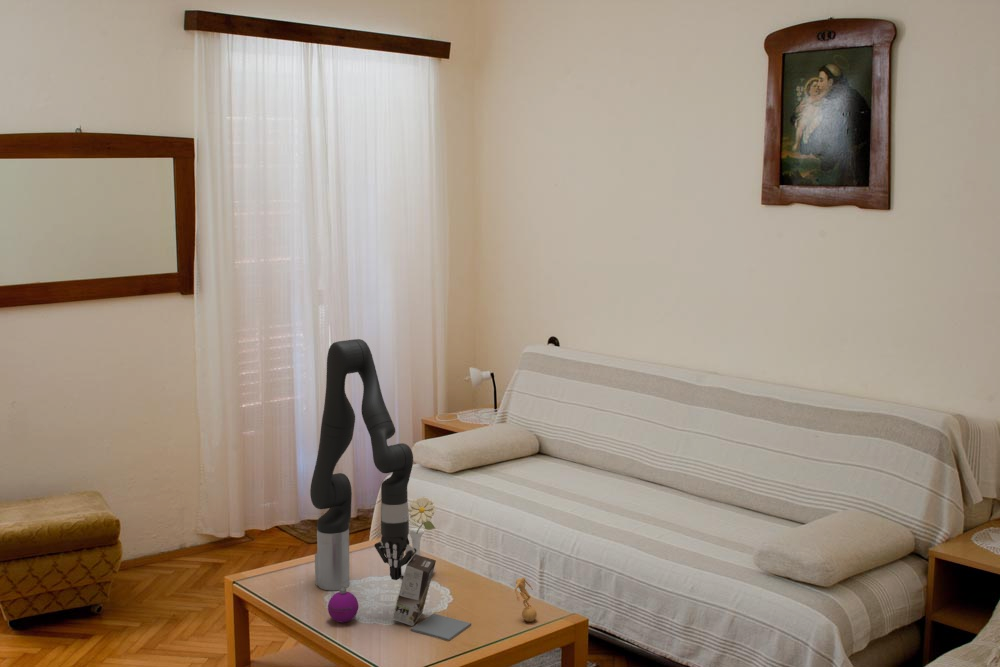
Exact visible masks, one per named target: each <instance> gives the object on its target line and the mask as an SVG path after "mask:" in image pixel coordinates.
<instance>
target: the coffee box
mask: <svg viewBox="0 0 1000 667" xmlns="http://www.w3.org/2000/svg"><path fill="white" fill-rule="evenodd" d="M436 562H437V560H435V559H432V558H429V557H426V556H424V555H422V556H419V555H416V554H415V555H414V556H413V557H412V559H411V560H410V561H409V563H408V564H407V566H406V570H405V573H404V576H403V577H402V581H401V585H400V590H399V592H398V597H397V600H396V604H395V608H394V611H393V615H392V620H393V621H397V622H399V623H402V624H405V625H407V626H411V627H414V626H415V625H416V623H417V622H418V621H419V619H420V617H421V615H423V611H424V607H425V604H426V600H427V596H428V592H429V590H430V589H429V588H430V586H431V581H432V577H433V574H434V572H433V570H434V567H435V566H436Z"/></svg>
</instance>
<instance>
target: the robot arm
mask: <svg viewBox="0 0 1000 667" xmlns="http://www.w3.org/2000/svg"><path fill="white" fill-rule="evenodd" d="M376 369H377V368H376V365H375V362H374V356H373V354H372V351H371V349H370V347H369V345H368V343H367V342H366V341H365V340H363V339H359V338H357V339H356V338H355V339H346V340H339V341H334V342H333V343H331V345H330V346H329V348H328V352H327V357H326V375H325V376H326V380H325V381H326V382H325V396H324V403H323V405H324V406H323V412H322V418H321V424H320V436H319V444H318V450H317V456H316V461H315V466H314V468H313V473H312V477H311V483H310V490H309V494H310V499H311V500H310V501H311V503H312V505H313V506H314V508H316V509H317V510H326V509H327V511H326V512H324V513H323V515H322V516H319V518H318V519H317V521H316V540H317V541H316V543H317V544H316V546H317V547H316V548H317V549H316V550H317V552H316V553H315V554H314V582H315V584H314V585H315V586H318V588H320V590H321V589H322V590H325V591H340V589H341V588H344V587H345V588H346V589H347V587H349V586H350V584H351V582H350V579H351V578H350V570H351V569H350V522H351V518H352V497H353V492H352V490H353V489H352V485H351V484H352V483H351V481H350V479H349V478H348V477H349V476H348V475H346V474H345V473H341V472H337V473H334V471H335V468H336V466H337V464H338V462H339V460H340V459H341V458H342V456H343V455H344V453H345V452H346V450H348V448H349V446H350V444H351V443H352V440H353V436H354V433H355V432H354V431H355V423H356V414H355V411H354V409H353V406H352V404H351V402H350V401H349V400H350V399H349V398H348V397H347V394H346V377H347V375H349V374H353V373H354V374H355V373H358V375H359V376H360V379H361V381H362V388H363V393H362V400H361V416H362V419H363V422H364V425H365V427H366V430H367V431H368V435H369V436H370V437H369V438H370V443H371V451H372V459H373V463H374V466H375V468H376V469H377V470H378V472H381V474H390V473H391V475H390V476H389V477H388V478H386V479H385V480H384V481H382V483H381V486H380V487H381V488H380V490H381V491H380V492H381V493H380V495H381V496H380V497H381V500H380V501H381V503H380V504H381V505H380V534H381V538H380V541H378V542H376V543H374V548H375V550H376V551H377V553H378V554H379V557H380V559H381V560H382V561H383V563H384V564H387V565H388V566H389V576H390V579H391V580H393V581H398V580H399V579H401V577H402V575H401V567H402V566H403V565H405V564H407V563H408V562H409V561H410V559H411V558H412V557H413V555H414V554H415V553H416V549H415V548H412V546H411V545H410V540H409V535H410V534H409V529H410V522H409V520H410V517H409V516H410V515H409V513H410V512H409V502H408V501H409V500H408V485H409V481H410V479H411V478H410V477H411V473H412V469H413V464H414V454H413V451H412V448H411V447H410V446H409V445H408V444H406V443H402V442H401V443H396V444H392V445H388V439H391V438H392V437H393V436H394V435H395V434H396V427H395V425H394V422H393V420H392V417H391V415H390V413H389V410H388V408H387V405H386V403H385V400H384V397H383V394H382V389H381V386H380V382H379V378H378V377H379V376H378V374H377V370H376ZM341 586H342V587H341ZM343 586H344V587H343Z"/></svg>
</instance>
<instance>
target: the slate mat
mask: <svg viewBox="0 0 1000 667" xmlns="http://www.w3.org/2000/svg"><path fill="white" fill-rule="evenodd" d="M471 626H472V623H471V622H468V621H464V620H459V619H457V618H452V617H449V616H444V615H443V614H442V615H441V614H437V613H432V614H430V615H429V616H428V617H426V618H424V619H423V620H421V621H420V622H418V623H417V624H415V625H414V626H411V627H410V631H411V632H414V633H418V634H421V635H425V636H429V637H433V638H436V639H441V640H442V641H443V640H444V641H447V642H450V641H451V640H453V639H454V638H456V637H457V636H458V635H460V634H461V633H463V632H464V631H465V630H467V629H468V628H470V627H471Z"/></svg>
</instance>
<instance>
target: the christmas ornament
mask: <svg viewBox="0 0 1000 667" xmlns="http://www.w3.org/2000/svg"><path fill="white" fill-rule="evenodd" d="M341 587H342V586H341ZM343 587H344V586H343ZM358 611H359V601H358V599H357V597H356V596H355V595H354V594H353V593H352V592H350V591H347V587H346V588H345V587H344V588H341V589H340V590H338V591H337V592H335V593H334V594H333V595H331V597H330V599H329V600H328V604H327V612H328V614H329V616H330V618H331V619H332V620H334V621H335V622H338V623H348V622H350V621H352V620H353V619H354V618H355V616H357V613H358Z"/></svg>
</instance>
